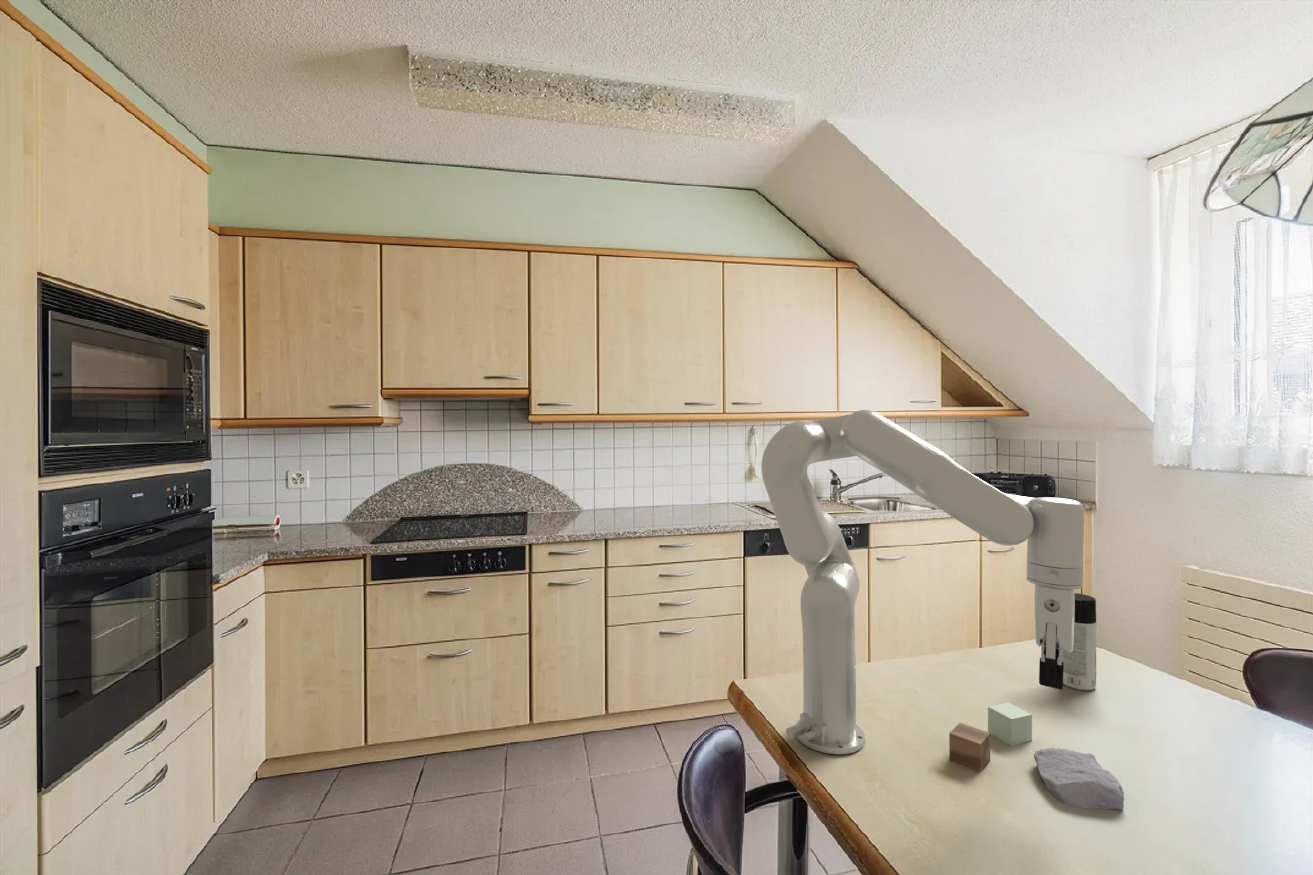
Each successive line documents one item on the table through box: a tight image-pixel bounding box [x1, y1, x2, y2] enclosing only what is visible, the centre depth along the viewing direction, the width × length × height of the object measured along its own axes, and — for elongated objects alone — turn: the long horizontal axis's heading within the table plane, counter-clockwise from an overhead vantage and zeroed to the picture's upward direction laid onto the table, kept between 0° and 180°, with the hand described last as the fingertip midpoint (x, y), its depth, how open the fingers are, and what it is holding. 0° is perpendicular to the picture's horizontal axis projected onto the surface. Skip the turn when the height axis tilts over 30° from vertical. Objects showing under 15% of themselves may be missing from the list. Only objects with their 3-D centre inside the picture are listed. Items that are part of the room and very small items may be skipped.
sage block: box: [987, 702, 1033, 747], centre depth 109 cm, size 5×5×5 cm
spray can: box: [1062, 592, 1097, 692], centre depth 130 cm, size 7×7×20 cm
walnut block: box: [948, 722, 991, 773], centre depth 101 cm, size 5×5×5 cm
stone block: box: [1033, 747, 1125, 811], centre depth 94 cm, size 12×5×10 cm
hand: (1050, 685), depth 95 cm, fingers closed
